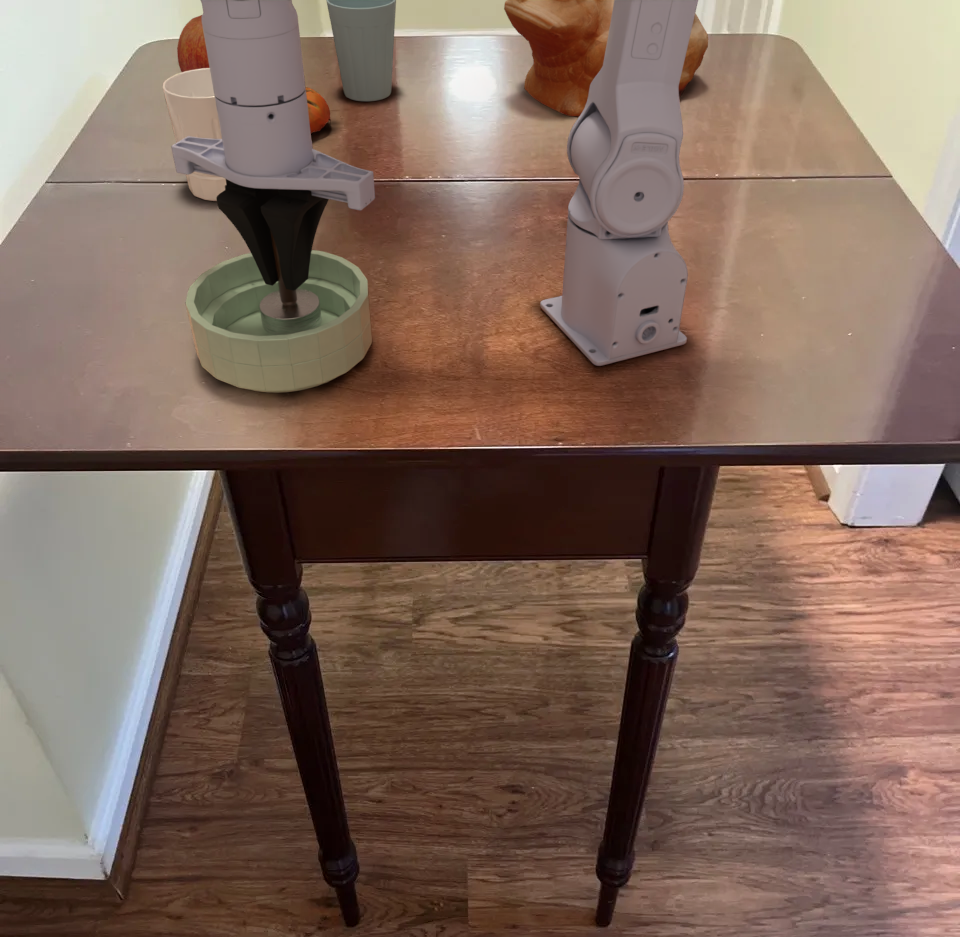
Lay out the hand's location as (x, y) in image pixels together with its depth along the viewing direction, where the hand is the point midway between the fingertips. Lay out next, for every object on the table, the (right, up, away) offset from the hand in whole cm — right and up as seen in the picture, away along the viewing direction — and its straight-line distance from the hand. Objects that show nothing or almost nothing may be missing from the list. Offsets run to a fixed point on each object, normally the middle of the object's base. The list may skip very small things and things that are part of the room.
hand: (286, 281), depth 70 cm
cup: (+1, +30, +43) cm, 53 cm away
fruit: (-15, +30, +42) cm, 54 cm away
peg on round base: (0, -3, +2) cm, 3 cm away
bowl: (0, -5, +2) cm, 5 cm away
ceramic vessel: (+29, +31, +45) cm, 61 cm away
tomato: (-6, +23, +34) cm, 42 cm away
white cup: (-11, +14, +24) cm, 29 cm away
